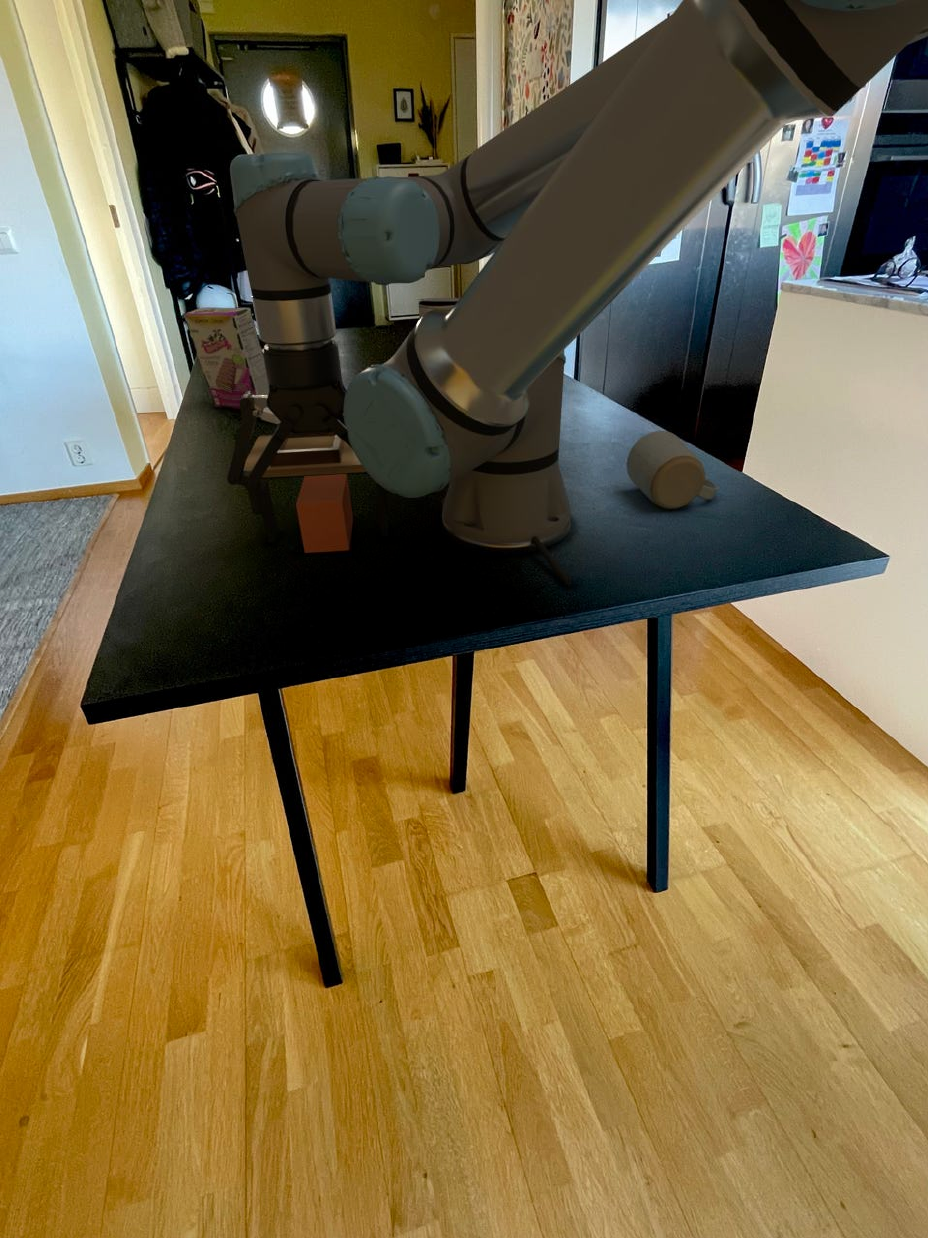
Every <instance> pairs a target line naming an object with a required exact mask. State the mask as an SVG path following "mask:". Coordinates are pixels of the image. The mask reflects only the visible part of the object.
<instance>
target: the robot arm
mask: <svg viewBox="0 0 928 1238" xmlns="http://www.w3.org/2000/svg"><path fill="white" fill-rule="evenodd" d="M926 37H928V0H681V2H680V3H679V5H677V7H676V9H675V10H674V12H673V13H671V15H669V16H668V17H665V18H664V19H663V20H662V21H660V22H659V23H657V24H656V25H655V26H653V27H651V28H650V29H649V30H647V31H646V32H644V33H643V34H641V35H640V36H638V37H637V38H636V39H634V40H633V41H631V42H630V43H628V44H627V45H626V46H624V47H623V48H621V49H620V50H618V51H617V52H615V53H613V54H612V55H611V56H609V57H608V58H607V59H605V60H604V61H602V62H601V63H599V64H598V65H597V66H595V67H593V68H592V69H590V70H589V71H587V72H586V73H585V74H582V76H580V77H579V78H578V79H576V80H574V81H573V82H572V83H570V84H569V85H568V86H566V87H565V88H563V89H562V90H560V91H559V92H557V93H556V94H555V95H553V96H552V97H550V98H548V99H547V100H546V101H544V102H543V103H541V104H540V105H538V106H537V107H536V108H534V109H533V110H531V111H529V112H528V113H527V114H525V115H524V116H523V117H521V118H520V119H518V120H517V121H515V122H514V123H512V124H511V125H509V126H508V127H507V128H505V129H503V130H502V131H500V132H499V133H498V134H496V135H495V136H494V137H492V138H490V139H489V140H488V141H487V142H485V143H483V144H482V145H480V146H479V147H478V148H476V149H475V150H473V151H472V152H471V153H470V154H469V155H467V156H465V157H464V158H462V159H461V160H459V161H458V162H456V163H455V164H453V165H452V166H450V167H449V168H447V169H446V170H445V171H443V172H441V173H438V174H434V175H414V176H396V177H395V176H389V175H387V176H378V175H376V176H371V177H366V178H365V177H363V178H360V177H359V178H341V179H340V178H339V179H327V180H322V179H320V178H319V177H318V174H317V169H316V163H315V161H314V159H313V158H312V156H311V155H310V154H308V153H305V152H272V153H271V152H269V153H268V152H267V153H245V154H239V155H238V154H237V156H235V157H234V158H233V159H232V160H231V163H230V167H229V173H230V181H231V189H232V196H233V204H234V205H233V207H234V208H233V213H234V216H235V217H236V221H237V227H238V231H239V236H240V241H241V247H242V252H243V258H244V262H245V267H246V272H247V277H248V282H249V288H250V292H251V300H252V305H253V310H254V315H255V321H256V328H257V334H258V338H259V341H262V342H263V343H265V345H264V346H263V348H262V353H263V359H264V364H265V369H266V375H267V380H268V386H269V394H268V396H267V395H254V393H252V392H250V391H249V392H246V393H245V394H244V396H243V397H242V398H241V400H240V409H239V410H240V418H241V422H240V426H239V429H238V433H237V437H236V441H235V445H234V449H233V454H232V458H231V460H230V461H231V462H230V465H229V470H228V473H227V477H226V478H227V479H226V480H227V483H228V484H229V485H232V486H235V485H239V486H243V487H244V488H245V489H246V490H247V495H248V498H249V503H250V507H251V511H252V512H253V514H254V515H261V516H262V520H263V526H264V530H265V535H266V539H267V543H268V544H270V543H271V544H272V543H273V544H274V543H276V540H277V538H278V533H279V529H278V525H277V520H276V513H275V510H274V505H273V500H272V495H271V490H270V485H269V481H268V480H262V479H263V478H262V477H263V475H264V473H265V472H266V470H267V468H268V467H269V465H270V463H271V462H272V460H273V459H274V457H275V455H276V454H277V452H278V450H279V449H280V447H281V445H282V444H283V443H284V441H285V439H286V438H287V436H288V435H289V433H290V432H292V433H294V434H296V435H298V437H302V436H308V435H311V434H315V435H320V436H321V435H327V434H328V433H330V432H332V431H333V432H334V433H335V434H336V435H337V436H338V437H339V438H340V439H342V440H344V441H345V442H346V443H347V444H348V445H349V446H350V447H351V448H352V449H353V451H354V453H355V455H356V457H357V458H358V460H359V462H360V463H361V465H362V466H363V468H364V469H365V470H366V471H367V472H366V473H367V474H368V475H369V476H370V477H371V478H372V479H373V481H375V488H376V489H375V490H376V499H377V506H378V514H379V515H378V516H379V517H378V518H379V525H380V535H381V537H387V536H389V519H388V512H387V511H388V509H387V508H388V507H395V503H396V494H397V495H398V496H400V497H403V498H407V499H418V498H421V497H424V496H427V495H429V494H432V493H438V492H440V491H442V490H443V489H444V488H445V487H446V486H447V485H448V487H447V488H448V489H447V492H446V495H445V496H444V497H443V498H442V499H441V509H442V513H441V522H442V530H443V532H444V534H445V535H446V537H447V538H448V539H450V540H451V541H452V542H454V543H456V544H457V545H459V546H461V547H464V548H466V549H469V550H473V551H477V552H481V553H488V554H496V555H497V554H499V555H512V554H515V555H516V554H525V553H531V552H536V551H539V552H540V554H541V555H542V556H543V558H544V559H545V561H546V562H547V563H548V564H549V566H550V568H551V569H552V570H553V571H554V572H555V574H556V575H557V576H558V578H559V579H560V580H561V581H562V582H563V583H564V584H565V585H566V586H570V585H572V584H573V579H572V578H571V577H570V576H569V575H568V574H567V573H566V572H565V571H564V570H563V569H562V567H561V566H560V565H559V563H558V562H557V560H556V559H555V558H554V557H553V555H552V554H551V552H550V551H549V550H548V549H547V548H549V547H551V546H553V545H555V544H557V543H559V542H560V541H562V540H563V539H564V538H565V537H566V536H567V535H568V534H569V532H570V529H571V520H572V514H571V505H570V501H569V497H568V493H567V490H566V486H565V483H564V480H563V475H562V473H561V469H560V468H561V467H560V464H559V457H560V456H559V455H560V443H561V441H560V440H561V424H562V409H563V393H564V392H563V391H564V377H565V364H566V363H567V357H566V355H565V350H566V349H567V348H568V347H569V345H571V344H572V342H574V341H575V340H576V339H577V337H579V336H580V334H581V333H583V331H584V330H585V329H586V328H587V327H588V326H590V324H591V323H592V322H593V321H594V320H595V319H596V318H597V317H598V316H599V315H600V314H601V313H603V311H604V310H605V309H606V308H607V307H608V306H609V305H611V303H612V302H613V301H614V300H615V299H616V298H617V297H618V296H619V295H620V294H621V293H622V292H623V291H624V290H625V289H626V287H627V286H629V284H631V282H632V281H633V280H635V279H636V277H638V275H639V274H640V273H642V271H644V269H645V268H646V267H647V266H648V265H649V264H650V263H651V262H652V261H653V260H654V259H655V258H656V257H657V256H658V255H659V254H660V253H661V252H662V251H663V250H664V249H665V248H666V247H667V246H668V245H669V244H670V243H671V242H672V240H674V239H675V238H676V237H677V236H678V235H679V234H680V233H681V231H683V230H684V229H685V227H687V225H688V224H689V223H691V222H692V221H693V219H694V218H696V216H697V215H698V214H699V213H700V212H701V211H702V210H703V209H704V208H705V207H706V206H707V205H708V204H709V203H710V202H711V201H712V200H713V199H714V198H715V197H716V196H717V195H718V194H719V193H720V192H721V191H722V190H723V189H724V188H725V187H726V186H727V185H728V184H729V183H730V182H731V181H732V180H733V179H734V178H735V177H736V175H738V174H739V172H740V171H742V170H743V168H744V167H746V165H748V164H749V163H750V162H751V161H752V159H753V158H754V157H755V156H756V155H757V154H758V153H759V152H760V151H761V150H762V149H763V148H764V147H765V146H766V145H767V144H768V143H769V142H770V141H771V140H772V139H773V138H774V137H775V136H776V135H777V134H778V133H779V132H780V131H781V130H782V129H783V128H784V127H785V126H786V125H787V124H791V123H794V122H795V121H801V120H802V121H803V120H811V119H812V120H813V119H822V118H831V117H832V118H833V117H834V116H835V115H836V114H837V113H838V112H839V111H840V110H841V109H842V108H843V107H844V106H845V105H846V104H847V103H848V102H849V101H851V99H852V98H853V97H854V96H856V95H857V93H859V92H860V90H861V89H863V88H864V87H865V86H866V85H867V84H868V83H869V82H870V81H872V79H873V78H875V76H876V75H878V74H879V73H880V72H881V71H882V69H884V68H885V67H886V66H887V65H888V64H889V63H890V62H891V61H892V60H893V59H894V58H895V57H897V55H898V54H899V53H900V52H901V51H903V49H904V48H906V47H907V46H908V45H910V44H913V43H915V42H918V41H920V40H922V39H926ZM489 256H490V258H488V260H487V261H486V263H485V264H484V265H483V267H482V268H481V270H480V271H479V272H478V273H477V275H476V276H475V278H474V279H473V280H472V282H471V283H470V284H469V286H468V287H467V288H466V289H465V291H464V292H463V294H462V295H461V296H460V297H459V298H460V299H459V300H458V302H457V303H456V304H455V306H454V307H453V308H436V309H433V310H431V311H429V312H427V313H426V314H425V315H424V316H423V317H422V318H421V319H418V321H417V323H416V324H415V326H414V327H413V328H412V330H411V331H410V332H409V334H408V335H407V337H406V338H405V340H404V341H403V342H402V344H401V345H400V346H399V348H398V349H397V351H396V352H395V354H393V355H392V356H391V357H390V359H388V360H387V361H385V362H384V363H382V364H381V363H376V364H372V365H370V366H367V367H366V368H365V369H364V370H362V371H361V372H359V373H357V375H355V376H354V377H353V379H352V380H351V381H350V382H349V384H348V386H347V388H346V387H345V385H344V382H343V374H342V367H341V359H340V351H339V350H340V349H339V345H338V343H337V342H336V341H335V340H333V338H335V336H336V334H337V327H336V319H335V312H334V304H333V297H332V287H331V286H332V285H331V280H330V279H333V280H334V279H336V280H344V281H345V280H346V281H357V282H364V283H365V282H366V283H374V284H375V285H378V286H388V285H392V284H413V283H416V282H418V281H420V280H421V279H422V278H423V277H424V276H425V274H426V272H427V271H429V270H434V269H440V268H444V267H451V266H455V265H456V266H457V265H469V264H473V263H474V262H475V263H476V262H478V261H481V260H483V259H484V258H487V257H489ZM267 407H268V408H269V410H270V411H271V412H272V413H273V414H274V415H275V416H276V417H277V418H278V419H279V420H280V421H281V422H280V423H279V424H277V427H276V428H275V430H274V432H273V434H271V435H272V437H271V439H270V440H269V442H268V444H267V445H266V447H265V449H264V450H263V452H262V454H261V455H260V457H259V459H258V460H257V462H256V464H255V465H254V467H253V469H252V470H251V472H249V471H245V470H244V466H245V462H246V460H247V458H248V456H249V450H250V447H251V443H252V439H253V435H254V433H255V432H254V431H255V428H256V423H257V419H258V418H261V417H260V416H261V414H262V413H263V409H264V408H267Z"/></svg>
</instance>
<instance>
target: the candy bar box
mask: <svg viewBox="0 0 928 1238" xmlns="http://www.w3.org/2000/svg"><path fill="white" fill-rule="evenodd" d="M183 318H184V320H185V323H186V327H187V329H188V332H189V335H190V338H191V340H192V344H193V346H194V349H195V352H196V355H197V358H198V360H199V363H200V364H199V365H200V367H201V370H202V373H203V376H204V378H205V379H204V380H205V382H206V385H207V388H208V390H209V393H210V396H211V399H212V402H213V406H214V408H223V409H237V410H240V400H241V398H242V397H243V396H244V394H245V393H246V392H249V391H250V392H252V393H254V395H267V396H268V394H269V386H268V380H267V375H266V369H265V364H264V359H263V353H262V350H263V348H262V345H261V342H260V338H259V333H258V330H257V326H256V324H255V320H254V317H253V313H252V310H251V307H209V306H208V307H204V306H203V307H199V308H196V309H194V310H191V311H187V312H186V313H184V314H183Z"/></svg>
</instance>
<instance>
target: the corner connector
mask: <svg viewBox="0 0 928 1238" xmlns="http://www.w3.org/2000/svg"><path fill="white" fill-rule="evenodd" d="M259 418H260V420H261V421H264V422H268V423H272V424H275V425H279V423H280V422H281V421H280V420H279V419H278V418H277V417H276V416H275V415H274V414H273V413H272V412H271V411H270V410H269V408H268V407H267V408H264V409H263V413H262V414H261V416H260V417H259Z"/></svg>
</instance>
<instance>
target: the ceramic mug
mask: <svg viewBox="0 0 928 1238" xmlns="http://www.w3.org/2000/svg"><path fill="white" fill-rule="evenodd" d="M626 471H627V475H628V477H629V479H630V480H631V482H632V483H634V485H635V486H636V487H637V488H638V489H639V490H640V491H641V492H642V493H643V494H644V495H645V496H646V497H647V499H649V500H650V501H651V502H652V503H653V504H654V505H656V506H658V507H660V508H663V509H669V510H670V509H672V510H673V509H679V508H682V507H684V506H686V505H689V504H690V503H691V502H693V501H694V499H696V498H697V497H698V498H700V499H704V500H706V501H707V500H708V501H709V500H712V499H713V498H714V497H715V495H716V494H717V492H718V490H719V487H718V486H717V485H716V484H715V483H714V482H713V481H711V480H710V479H709V478H707V477H706V472H705V468H704V466H703V464H702V462H701V460H700V459H699V457H698V456H697V455H696V454H695V453H694V451H692V450H691V449H690V448H689V447H688V446H687V445H686V444H685V443H684V442H683V441H682V440H681V439H680V437H678V436H677V435H676V434H675V433H672V432H670V431H668V430H656V431H652V432H649V433H647V434H645V435H643V436H641V437H640V439H638V440H637V441H635V444H633V445H632V447H631V449H630V450H629V452H628V456H627V459H626Z"/></svg>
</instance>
